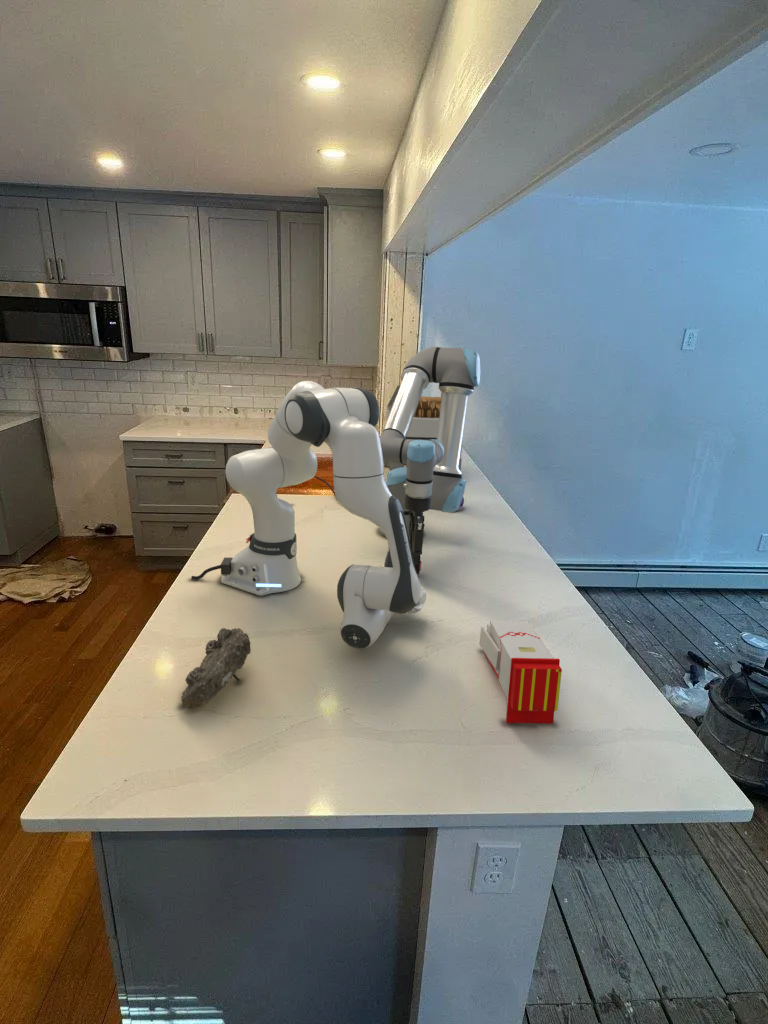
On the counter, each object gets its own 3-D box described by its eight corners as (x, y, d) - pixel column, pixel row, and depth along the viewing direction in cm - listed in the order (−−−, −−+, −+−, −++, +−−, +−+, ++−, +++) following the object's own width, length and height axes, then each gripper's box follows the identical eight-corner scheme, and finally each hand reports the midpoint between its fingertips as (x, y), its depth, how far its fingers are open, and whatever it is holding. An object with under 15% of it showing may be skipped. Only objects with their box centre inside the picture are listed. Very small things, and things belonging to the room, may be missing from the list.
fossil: (203, 630, 128) (250, 600, 123) (232, 659, 131) (279, 630, 126) (159, 702, 109) (213, 669, 104) (194, 733, 111) (249, 703, 106)
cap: (408, 564, 172) (408, 557, 171) (422, 567, 170) (423, 560, 170) (403, 570, 168) (403, 562, 167) (418, 573, 166) (418, 565, 165)
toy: (526, 605, 135) (570, 665, 105) (521, 658, 137) (563, 730, 108) (475, 604, 134) (506, 664, 105) (472, 657, 137) (500, 729, 108)
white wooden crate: (382, 463, 289) (386, 382, 275) (445, 464, 293) (451, 384, 279) (390, 482, 257) (394, 392, 243) (460, 483, 261) (468, 394, 247)
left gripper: (419, 601, 135) (432, 577, 147) (339, 585, 140) (358, 563, 153) (418, 624, 137) (431, 598, 149) (339, 608, 142) (358, 584, 155)
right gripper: (401, 485, 169) (397, 557, 177) (409, 505, 153) (404, 582, 161) (426, 486, 170) (421, 557, 178) (436, 505, 153) (430, 582, 161)
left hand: (394, 580), depth 151 cm, fingers closed on bottle, 5 cm apart
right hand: (413, 569), depth 169 cm, fingers closed on cap, 5 cm apart
